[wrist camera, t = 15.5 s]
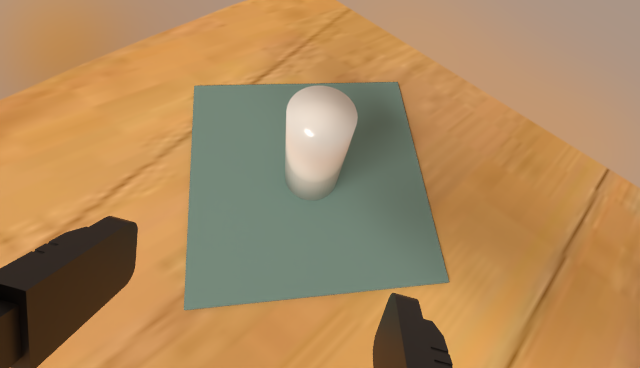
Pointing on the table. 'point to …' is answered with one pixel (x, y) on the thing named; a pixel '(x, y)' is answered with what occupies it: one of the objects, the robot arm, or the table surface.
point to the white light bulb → (317, 140)
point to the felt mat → (303, 203)
